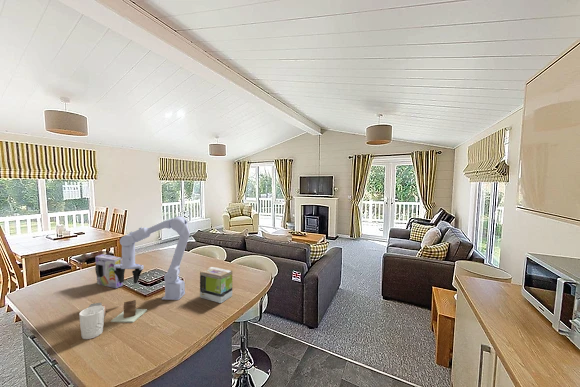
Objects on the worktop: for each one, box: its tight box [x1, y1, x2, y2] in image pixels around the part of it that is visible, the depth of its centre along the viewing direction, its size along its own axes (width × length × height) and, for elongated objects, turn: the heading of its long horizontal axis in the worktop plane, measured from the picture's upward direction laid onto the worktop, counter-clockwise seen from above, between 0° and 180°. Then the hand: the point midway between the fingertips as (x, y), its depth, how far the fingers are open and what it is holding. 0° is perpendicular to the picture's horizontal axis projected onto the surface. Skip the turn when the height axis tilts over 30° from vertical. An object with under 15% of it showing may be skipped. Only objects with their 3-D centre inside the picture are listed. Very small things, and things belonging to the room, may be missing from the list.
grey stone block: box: [87, 302, 102, 308], centre depth 112 cm, size 4×4×4 cm
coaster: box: [110, 308, 148, 324], centre depth 110 cm, size 10×10×1 cm
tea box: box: [199, 266, 233, 304], centre depth 129 cm, size 15×10×15 cm, turn 65°
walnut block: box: [123, 299, 137, 318], centre depth 110 cm, size 4×4×6 cm
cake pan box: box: [94, 254, 124, 289], centre depth 141 cm, size 19×5×18 cm, turn 68°
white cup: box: [78, 305, 105, 340], centre depth 96 cm, size 8×8×10 cm
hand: (128, 282), depth 123 cm, fingers open, 7 cm apart
